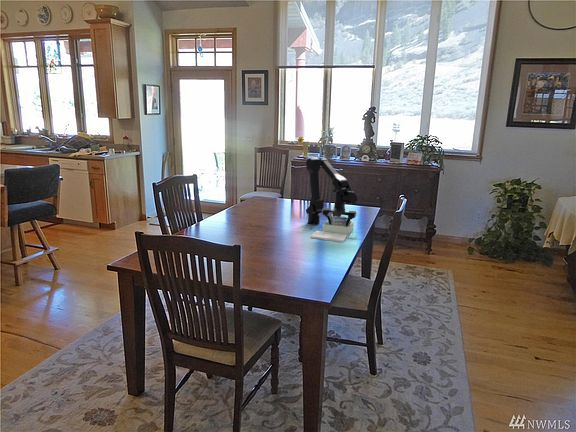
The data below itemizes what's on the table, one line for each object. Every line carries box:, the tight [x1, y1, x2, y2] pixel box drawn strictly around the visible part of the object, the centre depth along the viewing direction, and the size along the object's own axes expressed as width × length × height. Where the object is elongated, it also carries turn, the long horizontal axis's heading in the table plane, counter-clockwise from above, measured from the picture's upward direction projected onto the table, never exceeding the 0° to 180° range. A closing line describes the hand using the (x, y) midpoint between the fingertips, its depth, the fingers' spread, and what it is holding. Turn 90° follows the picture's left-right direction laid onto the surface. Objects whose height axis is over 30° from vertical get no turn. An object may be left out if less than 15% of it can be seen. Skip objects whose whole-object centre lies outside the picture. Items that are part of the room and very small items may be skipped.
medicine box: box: [331, 215, 348, 227], centre depth 234 cm, size 8×4×9 cm, turn 105°
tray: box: [310, 230, 349, 243], centre depth 224 cm, size 18×11×1 cm, turn 70°
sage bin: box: [322, 219, 355, 237], centre depth 234 cm, size 15×14×5 cm
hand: (338, 227), depth 235 cm, fingers closed on medicine box, 9 cm apart
